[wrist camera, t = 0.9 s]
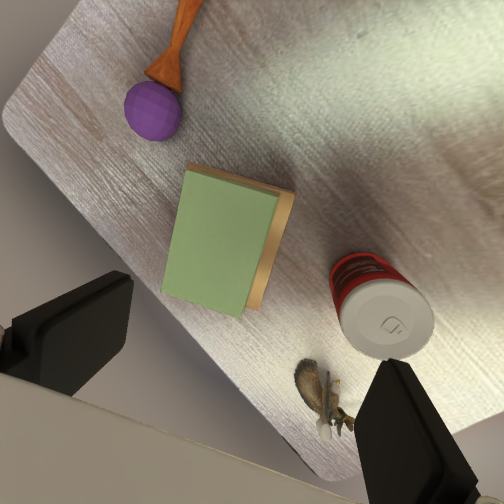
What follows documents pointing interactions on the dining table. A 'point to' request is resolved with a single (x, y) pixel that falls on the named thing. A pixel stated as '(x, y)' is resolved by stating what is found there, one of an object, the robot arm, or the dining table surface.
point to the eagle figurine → (321, 399)
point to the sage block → (217, 242)
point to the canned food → (379, 308)
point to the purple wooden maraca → (161, 84)
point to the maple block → (274, 233)
